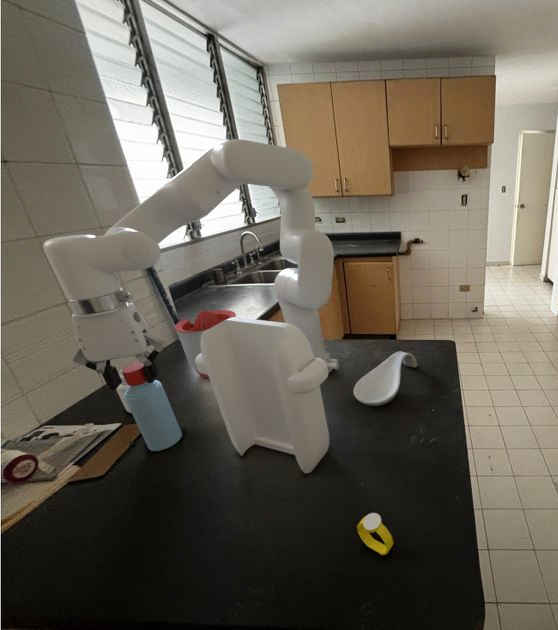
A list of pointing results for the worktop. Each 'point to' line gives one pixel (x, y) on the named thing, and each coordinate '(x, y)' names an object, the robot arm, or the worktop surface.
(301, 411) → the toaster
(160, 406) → the water bottle
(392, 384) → the spoon rest
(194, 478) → the worktop surface
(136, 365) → the cap
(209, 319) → the citrus juicer
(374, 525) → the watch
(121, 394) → the eye dropper bottle
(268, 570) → the worktop surface
